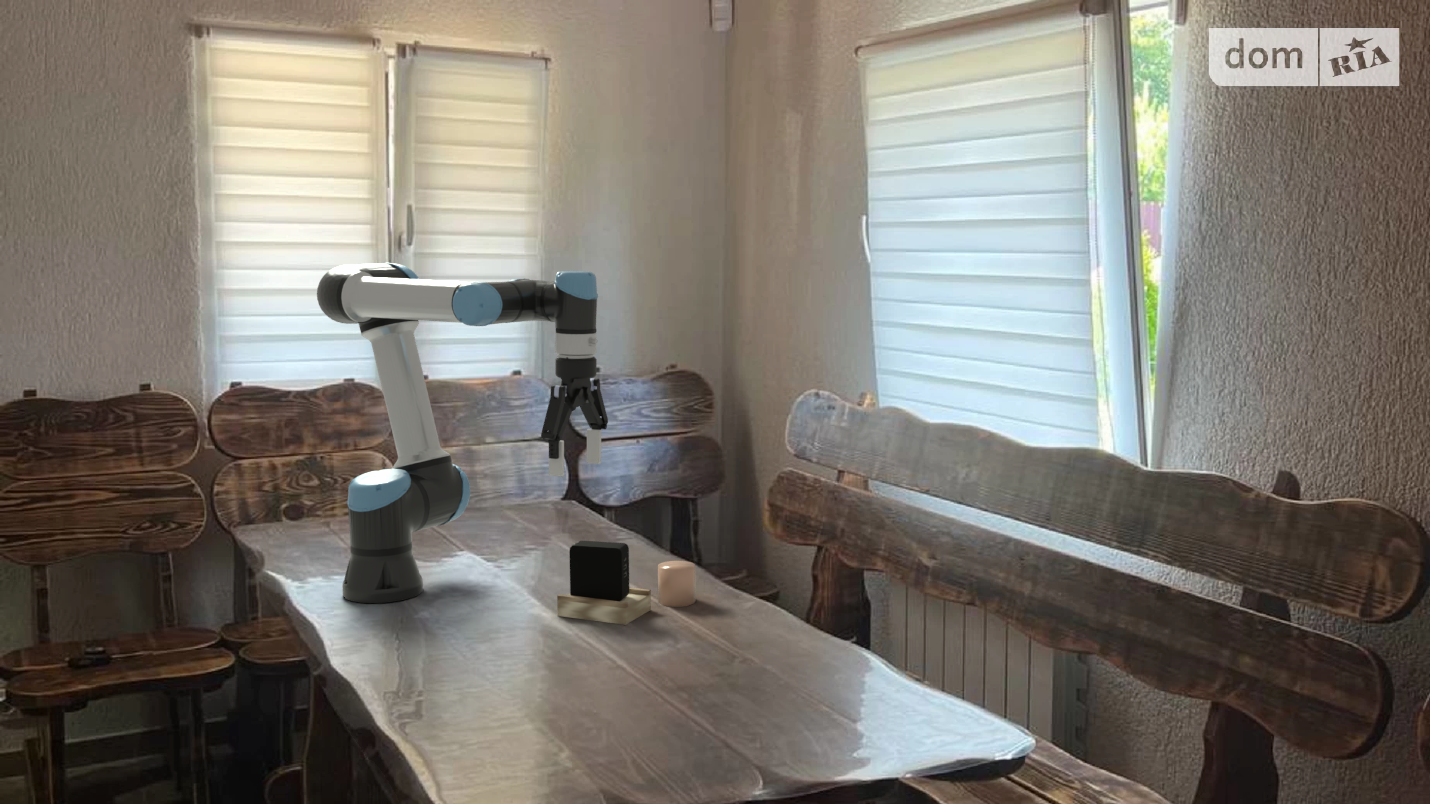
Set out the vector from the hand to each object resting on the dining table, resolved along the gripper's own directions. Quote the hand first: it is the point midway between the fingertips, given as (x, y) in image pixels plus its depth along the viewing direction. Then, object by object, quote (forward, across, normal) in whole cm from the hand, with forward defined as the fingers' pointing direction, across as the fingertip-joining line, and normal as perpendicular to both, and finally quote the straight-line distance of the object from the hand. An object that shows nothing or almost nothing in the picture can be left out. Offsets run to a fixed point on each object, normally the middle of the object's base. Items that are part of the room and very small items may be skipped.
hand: (575, 469), depth 243 cm
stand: (+25, -4, -8) cm, 27 cm away
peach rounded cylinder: (+25, +9, -17) cm, 32 cm away
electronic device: (+23, -4, -8) cm, 24 cm away
